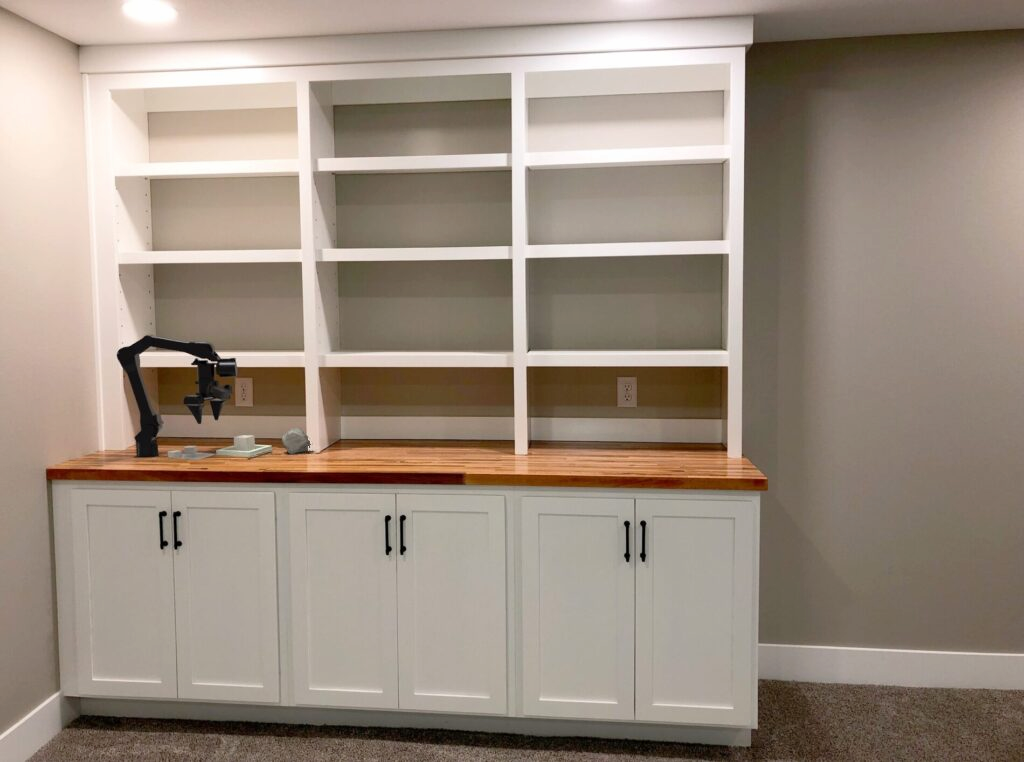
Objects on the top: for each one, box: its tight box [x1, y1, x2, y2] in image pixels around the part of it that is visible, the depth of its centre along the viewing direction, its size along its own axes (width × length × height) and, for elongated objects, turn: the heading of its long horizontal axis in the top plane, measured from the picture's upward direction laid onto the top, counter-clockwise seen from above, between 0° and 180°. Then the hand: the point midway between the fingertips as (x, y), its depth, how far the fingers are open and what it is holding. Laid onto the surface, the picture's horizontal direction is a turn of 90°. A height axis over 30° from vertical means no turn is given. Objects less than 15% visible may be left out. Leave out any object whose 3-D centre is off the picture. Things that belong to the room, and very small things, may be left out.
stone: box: [281, 427, 311, 455], centre depth 302 cm, size 10×10×10 cm
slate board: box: [167, 445, 216, 461], centre depth 292 cm, size 13×12×3 cm
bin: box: [215, 444, 273, 460], centre depth 298 cm, size 14×14×2 cm
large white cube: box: [233, 434, 256, 451], centre depth 298 cm, size 5×5×6 cm
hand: (208, 422), depth 295 cm, fingers open, 9 cm apart
